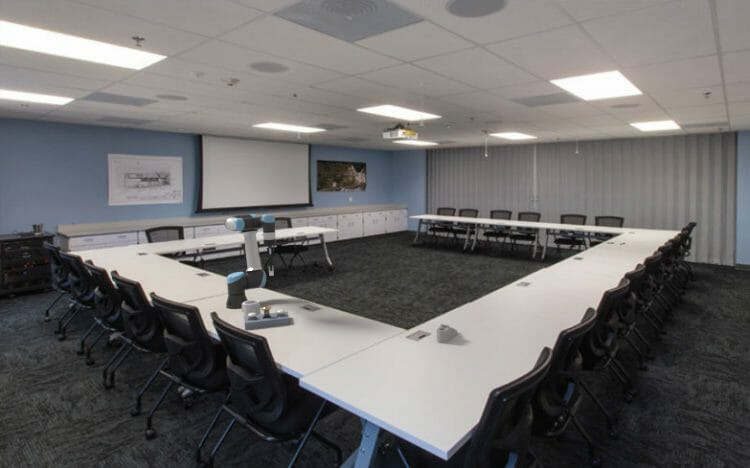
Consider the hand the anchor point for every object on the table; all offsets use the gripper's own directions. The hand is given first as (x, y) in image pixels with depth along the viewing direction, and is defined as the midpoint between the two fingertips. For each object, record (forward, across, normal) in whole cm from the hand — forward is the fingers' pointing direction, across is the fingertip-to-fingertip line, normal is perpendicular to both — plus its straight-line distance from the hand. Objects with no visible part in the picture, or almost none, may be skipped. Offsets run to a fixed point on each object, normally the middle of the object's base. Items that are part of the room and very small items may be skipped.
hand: (271, 275), depth 264 cm
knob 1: (+26, +12, -13) cm, 32 cm away
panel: (+27, +12, -4) cm, 30 cm away
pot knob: (+23, +12, -4) cm, 27 cm away
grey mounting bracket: (+27, +68, +91) cm, 117 cm away
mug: (+28, -5, -15) cm, 32 cm away
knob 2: (+26, +12, +4) cm, 29 cm away
